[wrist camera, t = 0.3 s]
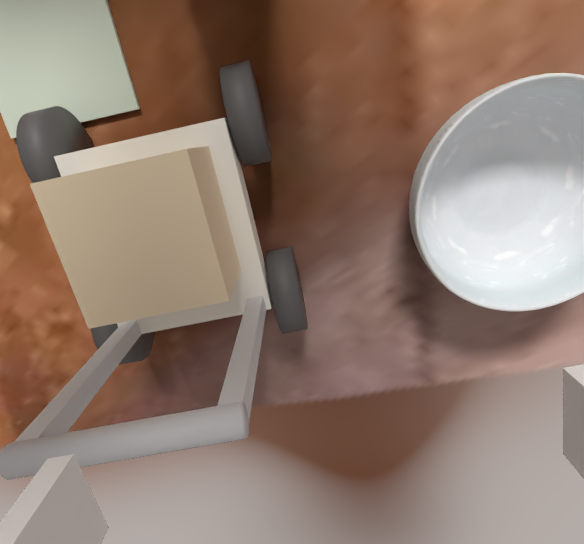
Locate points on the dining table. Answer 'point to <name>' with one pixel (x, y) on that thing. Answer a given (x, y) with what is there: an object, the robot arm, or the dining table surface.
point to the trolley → (155, 266)
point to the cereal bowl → (506, 196)
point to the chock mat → (62, 60)
